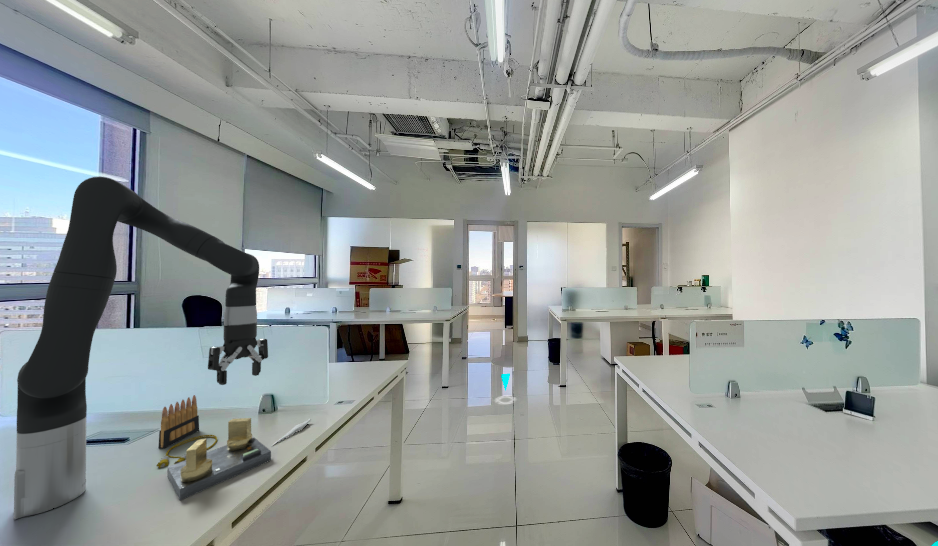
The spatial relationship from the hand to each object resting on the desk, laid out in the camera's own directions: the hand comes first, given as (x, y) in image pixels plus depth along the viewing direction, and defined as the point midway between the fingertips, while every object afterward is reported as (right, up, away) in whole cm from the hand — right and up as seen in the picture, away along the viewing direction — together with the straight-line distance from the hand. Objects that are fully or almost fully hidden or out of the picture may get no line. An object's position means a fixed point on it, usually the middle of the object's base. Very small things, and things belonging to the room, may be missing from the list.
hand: (239, 379), depth 84 cm
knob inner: (0, -18, -13) cm, 22 cm away
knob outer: (0, -19, 0) cm, 19 cm away
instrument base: (0, -21, -6) cm, 22 cm away
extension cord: (-17, -22, +2) cm, 28 cm away
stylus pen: (+8, -22, +11) cm, 26 cm away
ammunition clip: (-26, -22, +9) cm, 35 cm away
